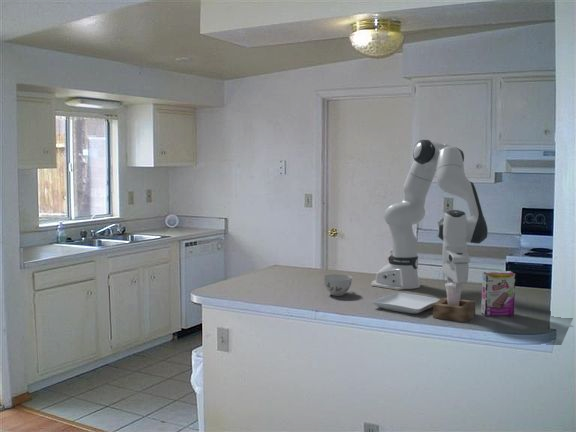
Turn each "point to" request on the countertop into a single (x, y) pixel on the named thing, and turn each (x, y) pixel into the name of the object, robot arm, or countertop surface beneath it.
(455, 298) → the smoothie
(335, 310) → the countertop surface
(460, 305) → the walnut holder
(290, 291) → the countertop surface
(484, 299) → the candy bar box
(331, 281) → the teacup
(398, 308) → the salad plate
